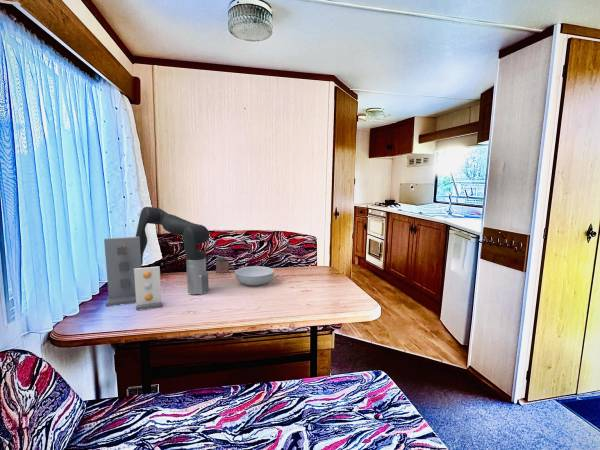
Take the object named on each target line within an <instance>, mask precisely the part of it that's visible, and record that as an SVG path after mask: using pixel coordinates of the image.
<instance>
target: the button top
mask: <svg viewBox="0 0 600 450" xmlns="http://www.w3.org/2000/svg"><path fill="white" fill-rule="evenodd" d="M126 251H127V250H126V246H119V247H117V255H127V253H126Z"/></svg>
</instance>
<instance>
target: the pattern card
mask: <svg viewBox="0 0 600 450" xmlns="http://www.w3.org/2000/svg"><path fill="white" fill-rule="evenodd" d="M160 270H161V269H160V266H150V267H149V266H148V267H141V268H137V269H134V278H135V292H136V303H135V304H136V305H135V306H136V307H135V311H136V310H138V311H141V310H140V309H145V310H148V309H147V308H153V309H155V308H154V307H160V308H162V304H163V301H162V288H161V285H162V284H161V271H160Z"/></svg>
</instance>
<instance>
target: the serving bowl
mask: <svg viewBox="0 0 600 450" xmlns="http://www.w3.org/2000/svg"><path fill="white" fill-rule="evenodd" d="M274 274H275V270H274V269H273V268H271V267H269V266H260V265H254V266H253V265H252V266H244V267H240V268H238V269H236V270H235V271H234V275H235V279H236V280H237V281H238V282H240V283H241V284H244V285H247V286H253V285H255V286H261V285H264V284H267V283H269V282H271V280H272V279H273V278H274Z"/></svg>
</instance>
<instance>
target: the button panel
mask: <svg viewBox="0 0 600 450" xmlns="http://www.w3.org/2000/svg"><path fill="white" fill-rule="evenodd" d="M103 241H104V254H105V255H104V256H105V267H106V278H107V291H108V293H107V294H108V297H107V300H106V302H105V307H114V305H116V306H121V305H120V304H124V305H127V304H126V303H131V304H134V303H133V302H136V292H135V278H134V269H137V268H142V266H141V253H140V238H139V237H135V236H129V237H127V236H125V237H109V238H104V239H103ZM119 246H126V250H127V251H126V253H127V255H117V247H119ZM127 262H128V270H127V271H120V270H119V263H127ZM127 279H129V284H130V287H128V288H121V283H120V280H127Z"/></svg>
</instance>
